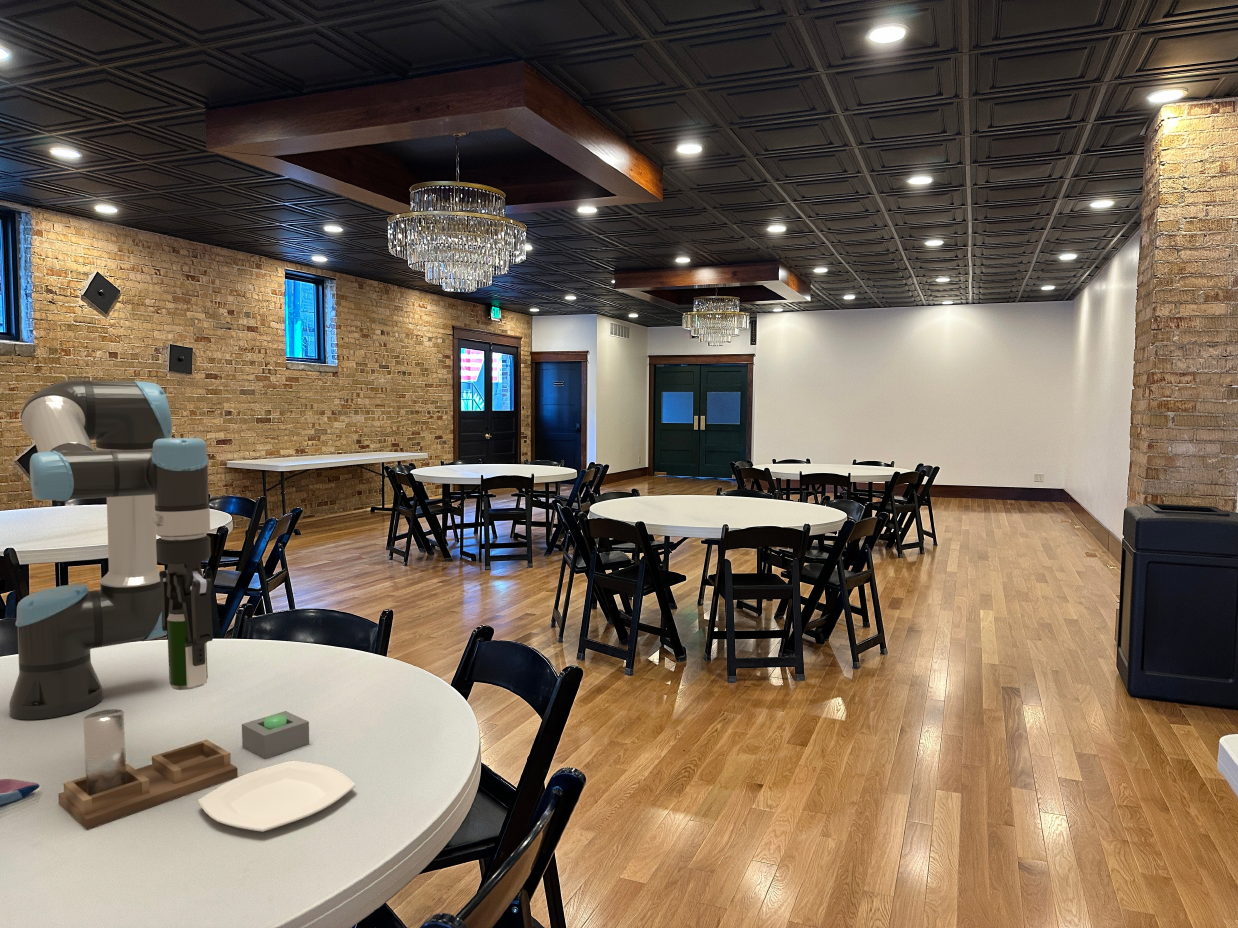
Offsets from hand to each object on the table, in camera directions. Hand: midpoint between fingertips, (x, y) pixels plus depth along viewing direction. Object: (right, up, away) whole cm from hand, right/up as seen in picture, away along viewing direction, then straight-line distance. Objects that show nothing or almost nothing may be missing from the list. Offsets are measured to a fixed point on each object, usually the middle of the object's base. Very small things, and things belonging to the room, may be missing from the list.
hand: (188, 680), depth 127 cm
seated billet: (-8, -15, -8) cm, 19 cm away
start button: (+8, -13, +13) cm, 20 cm away
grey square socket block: (+8, -15, +13) cm, 21 cm away
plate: (+18, -17, -8) cm, 25 cm away
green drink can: (0, -1, 0) cm, 1 cm away
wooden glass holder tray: (-4, -16, -4) cm, 17 cm away
